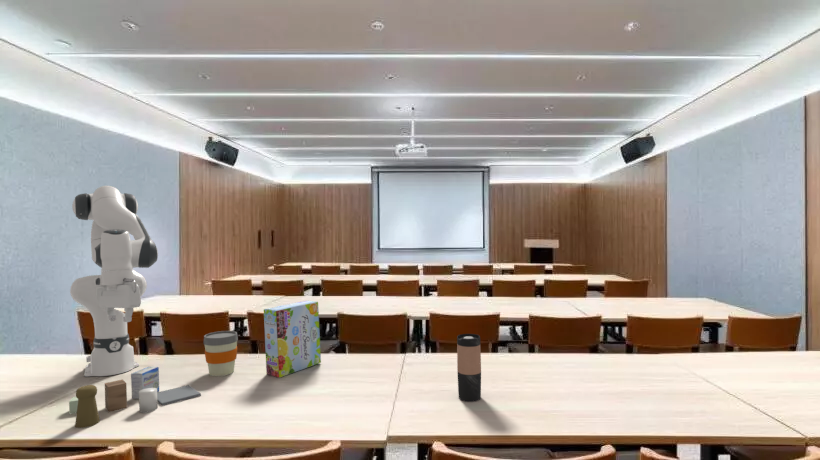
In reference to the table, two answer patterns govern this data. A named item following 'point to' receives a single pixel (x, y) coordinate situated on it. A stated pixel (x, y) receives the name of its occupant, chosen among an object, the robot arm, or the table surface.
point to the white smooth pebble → (148, 400)
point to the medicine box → (144, 380)
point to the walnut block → (115, 395)
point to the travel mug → (469, 367)
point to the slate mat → (176, 395)
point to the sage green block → (73, 405)
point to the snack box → (291, 337)
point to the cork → (86, 407)
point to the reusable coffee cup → (221, 352)
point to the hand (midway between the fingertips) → (119, 321)
